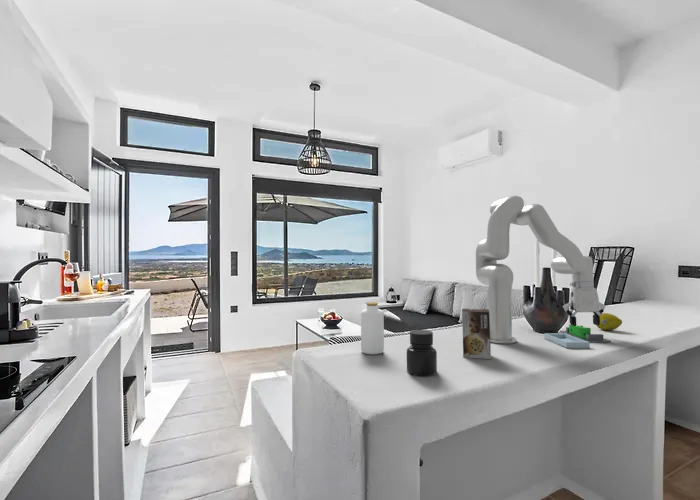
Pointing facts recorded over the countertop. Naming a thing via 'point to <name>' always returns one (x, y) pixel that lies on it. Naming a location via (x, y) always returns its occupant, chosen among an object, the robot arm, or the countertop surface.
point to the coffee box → (476, 333)
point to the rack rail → (589, 337)
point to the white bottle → (372, 329)
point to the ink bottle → (421, 354)
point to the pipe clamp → (579, 330)
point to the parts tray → (566, 340)
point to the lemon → (609, 322)
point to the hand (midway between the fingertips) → (584, 325)
